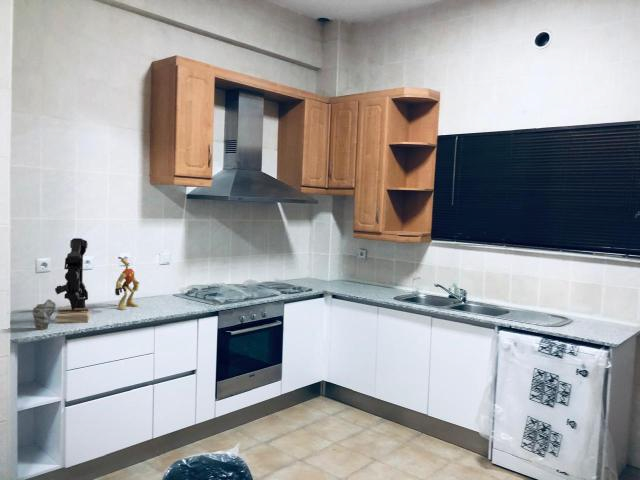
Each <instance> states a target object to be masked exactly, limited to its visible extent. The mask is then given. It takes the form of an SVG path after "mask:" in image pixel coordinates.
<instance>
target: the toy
mask: <svg viewBox="0 0 640 480" xmlns="http://www.w3.org/2000/svg"><path fill="white" fill-rule="evenodd" d="M117 259H118V260H119V259H120V262H121V263H122V264H123V265H124V266H125V269H124V270H123V271H122V272H121V274H120V276H119V277H118V278H117V281H116V283H115V289H114V290H115V291H114V293H115V296H120V294H122V292H124V295H123V296H122V298H121V299H120V300H119V302H118V305H117V308H118V310H120V311H122V310H123V311H124V310H127V307H134V308H135V307H140V305H139V304H137V303H135V302H134V301H133V298H134V295H135V292H137V291H139V287H140V282H139V281H138V280H137V279H136V277H135V275H136V272H135V271H134V269H133V268H129V265H130V263H129V262H128V260H127V259H126V257H121V256H118V257H117ZM122 282H123V284H122ZM130 284H132V285H133V287H131V286H130ZM128 291H129V292H130V294H129V295H128ZM127 296H128V297H127ZM125 302H126V303H125Z"/></svg>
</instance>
